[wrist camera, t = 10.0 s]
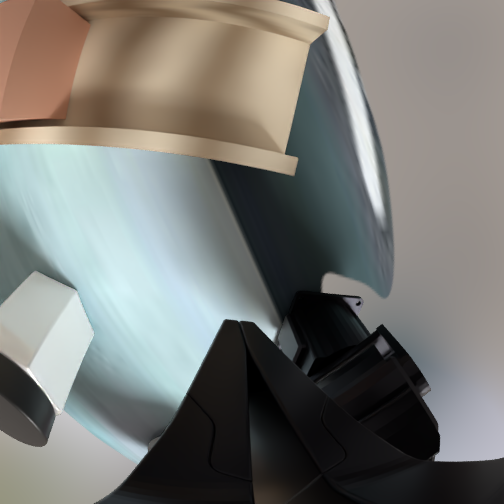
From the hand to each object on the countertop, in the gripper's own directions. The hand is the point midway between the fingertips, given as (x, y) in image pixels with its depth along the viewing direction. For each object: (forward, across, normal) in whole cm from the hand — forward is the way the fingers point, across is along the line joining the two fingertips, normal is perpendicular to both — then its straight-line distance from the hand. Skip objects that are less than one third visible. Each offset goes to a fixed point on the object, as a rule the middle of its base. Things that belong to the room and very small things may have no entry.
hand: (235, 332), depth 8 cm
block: (+11, +15, -9) cm, 21 cm away
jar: (+12, +14, +11) cm, 22 cm away
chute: (+12, +8, -9) cm, 17 cm away
